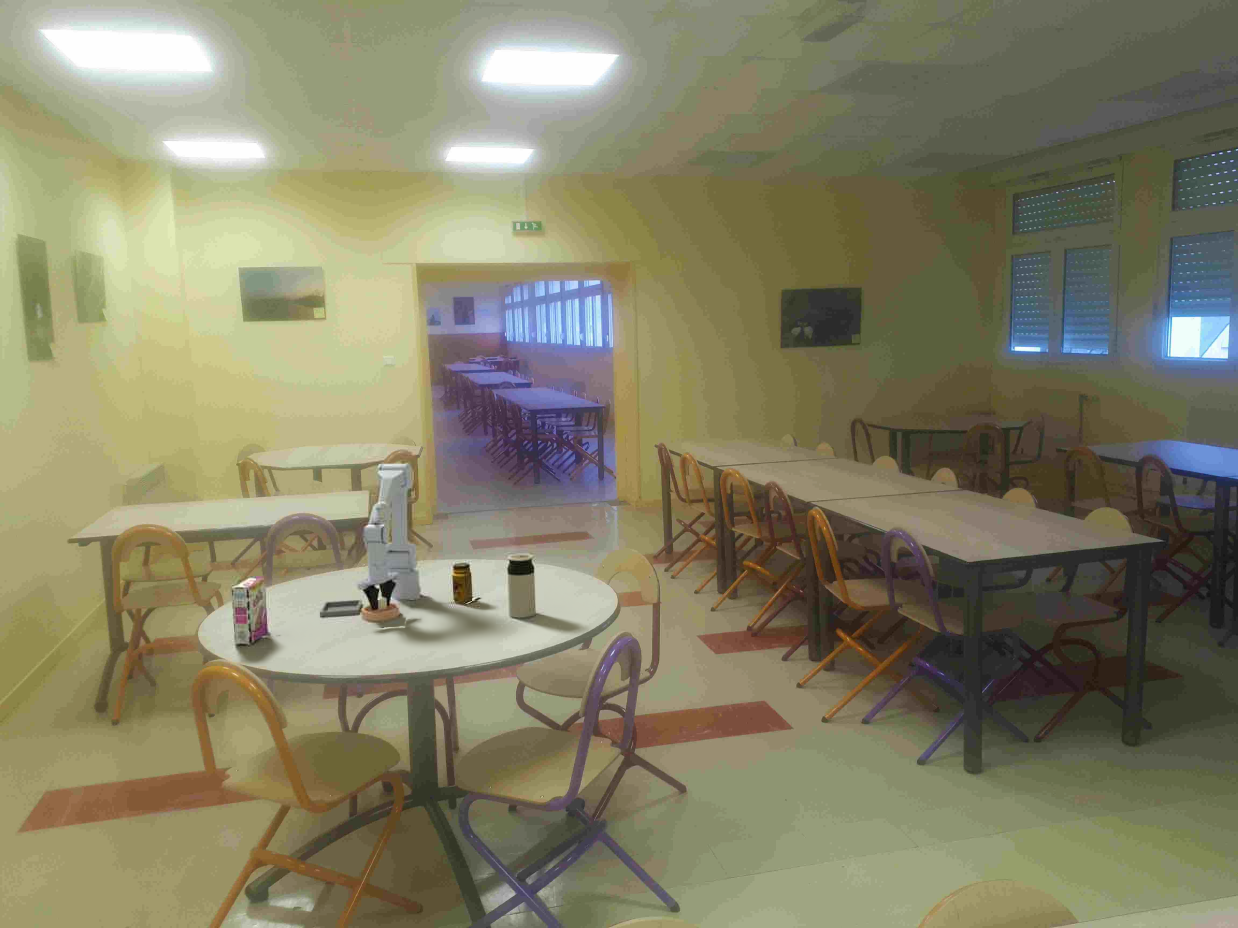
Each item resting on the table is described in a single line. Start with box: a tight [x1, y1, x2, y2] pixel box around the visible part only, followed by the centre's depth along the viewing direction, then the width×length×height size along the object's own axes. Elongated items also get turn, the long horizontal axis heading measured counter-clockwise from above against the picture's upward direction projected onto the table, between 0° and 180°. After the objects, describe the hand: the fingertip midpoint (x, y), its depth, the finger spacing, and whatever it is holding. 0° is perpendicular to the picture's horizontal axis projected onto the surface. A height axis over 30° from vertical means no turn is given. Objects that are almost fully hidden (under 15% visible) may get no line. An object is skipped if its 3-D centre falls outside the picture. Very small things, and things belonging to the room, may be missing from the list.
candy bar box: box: [231, 577, 269, 646], centre depth 249 cm, size 11×5×16 cm, turn 178°
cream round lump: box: [373, 596, 387, 612], centre depth 267 cm, size 4×4×4 cm
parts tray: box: [319, 599, 363, 618], centre depth 274 cm, size 11×11×2 cm
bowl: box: [360, 602, 401, 622], centre depth 268 cm, size 11×11×3 cm
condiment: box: [448, 562, 474, 604], centre depth 283 cm, size 7×8×12 cm
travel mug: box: [507, 553, 537, 619], centre depth 266 cm, size 8×8×18 cm
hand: (380, 607), depth 267 cm, fingers closed on cream round lump, 4 cm apart
